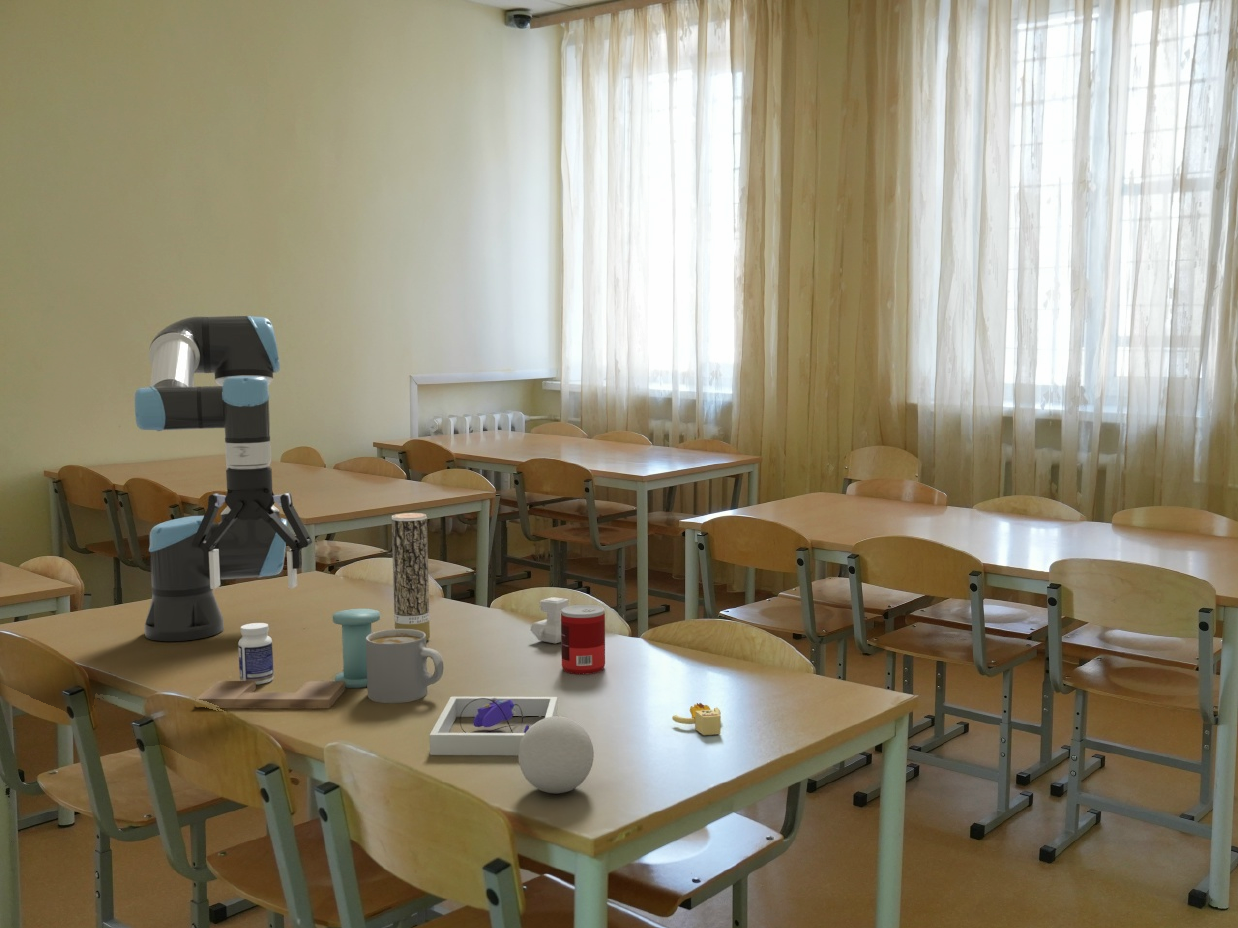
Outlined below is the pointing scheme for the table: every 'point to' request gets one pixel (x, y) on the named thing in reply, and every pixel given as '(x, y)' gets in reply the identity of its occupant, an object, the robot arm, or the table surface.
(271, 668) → the pill bottle
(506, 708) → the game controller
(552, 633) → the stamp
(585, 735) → the ball
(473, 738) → the controller tray
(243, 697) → the notch board
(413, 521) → the paper tube
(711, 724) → the character toy
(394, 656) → the coffee mug
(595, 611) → the canned food
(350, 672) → the bobbin post
